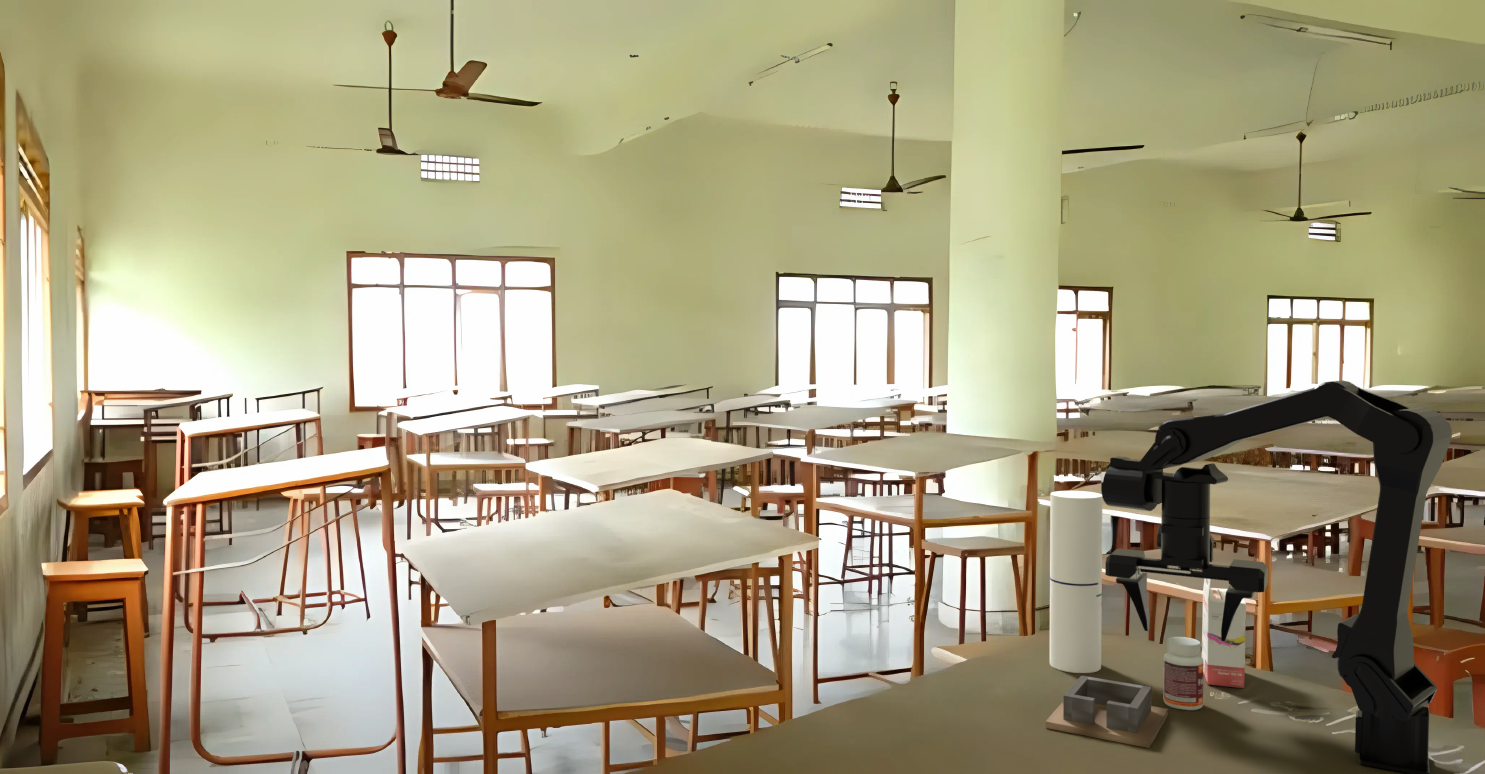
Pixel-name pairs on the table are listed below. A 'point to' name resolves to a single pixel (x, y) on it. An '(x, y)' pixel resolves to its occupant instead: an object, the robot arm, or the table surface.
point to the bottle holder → (1109, 712)
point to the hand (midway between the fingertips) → (1184, 635)
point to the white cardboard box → (1222, 656)
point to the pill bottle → (1183, 674)
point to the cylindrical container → (1075, 581)
